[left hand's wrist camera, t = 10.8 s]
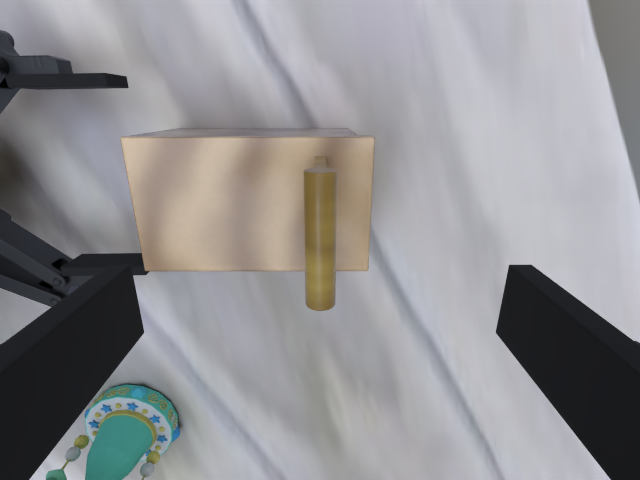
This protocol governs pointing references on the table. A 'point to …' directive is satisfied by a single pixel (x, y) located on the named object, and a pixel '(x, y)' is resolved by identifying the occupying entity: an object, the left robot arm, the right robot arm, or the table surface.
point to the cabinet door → (254, 205)
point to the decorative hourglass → (124, 433)
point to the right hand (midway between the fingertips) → (137, 180)
